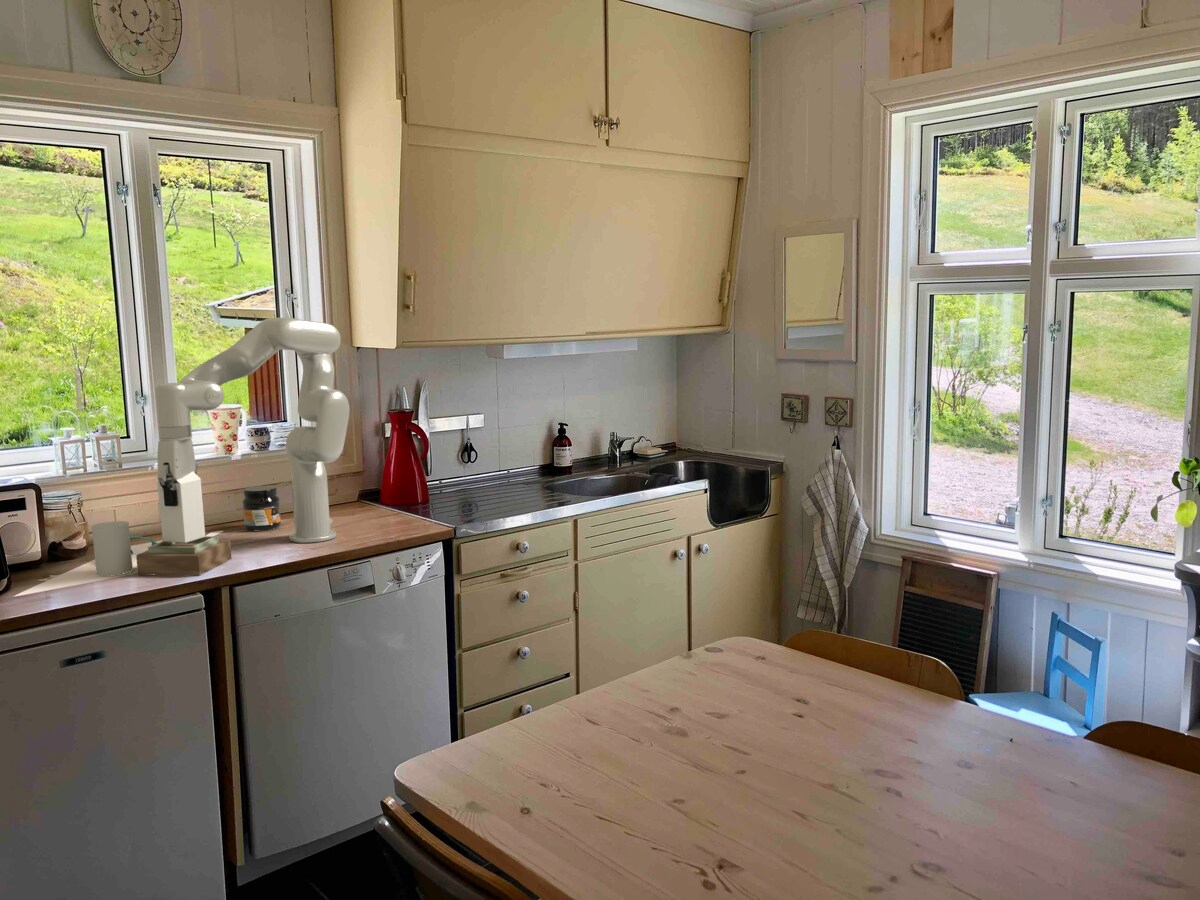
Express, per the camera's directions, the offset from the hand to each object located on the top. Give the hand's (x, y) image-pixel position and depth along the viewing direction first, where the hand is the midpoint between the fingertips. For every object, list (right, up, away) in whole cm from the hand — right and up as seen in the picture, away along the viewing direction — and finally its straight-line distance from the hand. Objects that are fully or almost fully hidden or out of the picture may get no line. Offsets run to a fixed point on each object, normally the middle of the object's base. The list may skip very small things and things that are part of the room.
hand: (180, 502), depth 244 cm
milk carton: (0, -10, +1) cm, 10 cm away
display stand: (0, -16, +2) cm, 17 cm away
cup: (-16, -17, -1) cm, 24 cm away
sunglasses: (-17, -16, +12) cm, 26 cm away
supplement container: (+4, -10, +47) cm, 48 cm away
